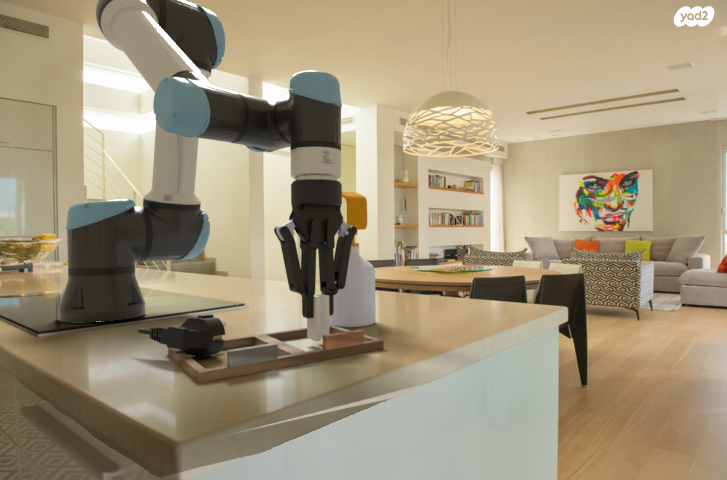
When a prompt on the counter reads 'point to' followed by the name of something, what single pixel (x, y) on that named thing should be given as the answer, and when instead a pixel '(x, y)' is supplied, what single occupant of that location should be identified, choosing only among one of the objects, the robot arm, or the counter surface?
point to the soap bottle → (356, 275)
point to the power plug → (192, 335)
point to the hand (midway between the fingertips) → (318, 338)
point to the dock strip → (276, 352)
